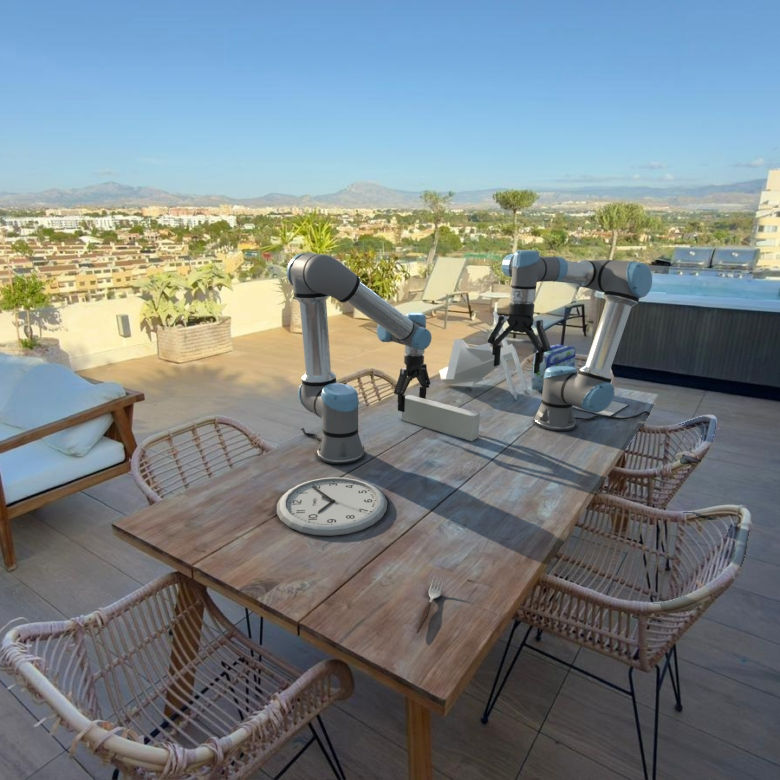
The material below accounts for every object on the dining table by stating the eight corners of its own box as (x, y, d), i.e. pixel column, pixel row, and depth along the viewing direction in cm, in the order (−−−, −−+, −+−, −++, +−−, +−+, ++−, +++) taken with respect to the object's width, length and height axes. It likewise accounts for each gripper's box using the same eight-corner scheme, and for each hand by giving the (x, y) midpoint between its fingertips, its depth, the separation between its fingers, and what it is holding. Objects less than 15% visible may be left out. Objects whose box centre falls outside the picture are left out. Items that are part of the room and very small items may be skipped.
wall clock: (392, 527, 129) (268, 531, 127) (391, 533, 130) (269, 537, 127) (383, 473, 158) (282, 475, 155) (383, 478, 158) (282, 480, 156)
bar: (478, 437, 191) (480, 413, 188) (471, 441, 187) (473, 416, 184) (408, 417, 210) (409, 394, 207) (401, 420, 207) (402, 397, 204)
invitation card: (608, 416, 214) (573, 407, 224) (608, 416, 214) (573, 408, 224) (628, 404, 229) (594, 396, 238) (628, 405, 229) (594, 397, 238)
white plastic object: (461, 429, 252) (437, 405, 227) (444, 352, 274) (420, 323, 250) (535, 404, 240) (518, 377, 215) (510, 326, 262) (492, 293, 237)
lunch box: (547, 397, 237) (552, 352, 231) (526, 391, 245) (531, 348, 238) (574, 386, 255) (580, 344, 249) (554, 381, 262) (559, 340, 256)
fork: (410, 633, 98) (410, 625, 97) (432, 582, 112) (433, 574, 112) (423, 637, 97) (423, 628, 96) (444, 585, 111) (445, 577, 111)
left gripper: (425, 347, 210) (422, 398, 216) (385, 357, 191) (384, 412, 197) (441, 350, 205) (437, 402, 211) (401, 361, 187) (399, 417, 193)
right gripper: (480, 299, 165) (475, 364, 171) (557, 307, 151) (549, 378, 157) (490, 297, 171) (486, 360, 177) (566, 305, 157) (558, 373, 163)
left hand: (411, 407), depth 204 cm, fingers open, 13 cm apart
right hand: (515, 368), depth 167 cm, fingers open, 13 cm apart
